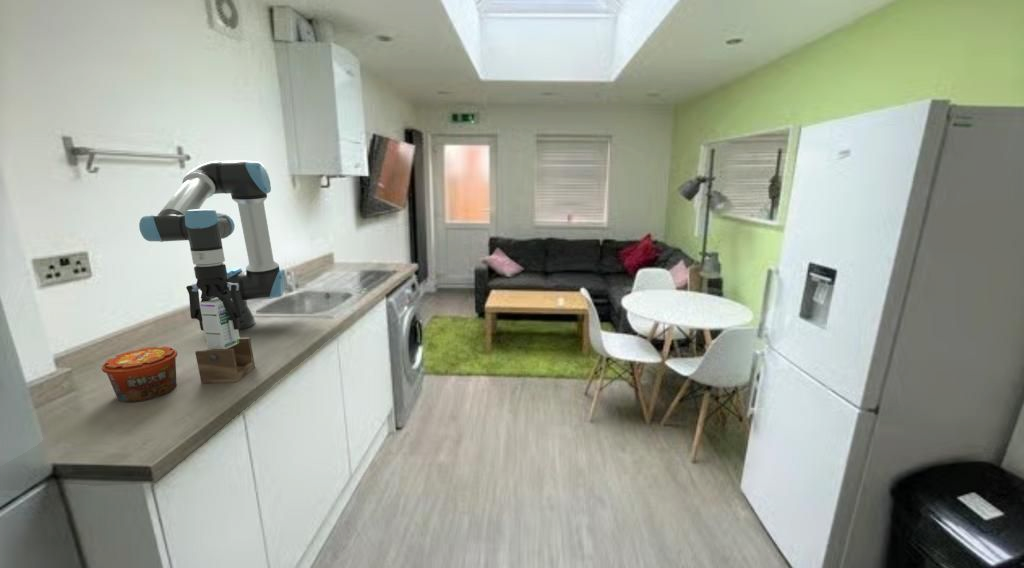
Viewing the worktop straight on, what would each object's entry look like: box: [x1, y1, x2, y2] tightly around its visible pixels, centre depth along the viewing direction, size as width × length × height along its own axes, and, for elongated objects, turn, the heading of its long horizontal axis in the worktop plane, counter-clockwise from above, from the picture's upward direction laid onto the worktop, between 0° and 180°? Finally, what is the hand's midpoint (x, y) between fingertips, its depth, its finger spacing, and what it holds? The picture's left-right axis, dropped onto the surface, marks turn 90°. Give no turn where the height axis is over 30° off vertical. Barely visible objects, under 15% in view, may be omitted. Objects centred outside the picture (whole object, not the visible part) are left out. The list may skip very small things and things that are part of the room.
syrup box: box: [199, 297, 239, 350], centre depth 127 cm, size 6×6×14 cm
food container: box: [101, 346, 178, 403], centre depth 120 cm, size 16×16×11 cm
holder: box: [194, 336, 256, 384], centre depth 130 cm, size 12×10×10 cm
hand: (222, 339), depth 128 cm, fingers closed on syrup box, 7 cm apart
